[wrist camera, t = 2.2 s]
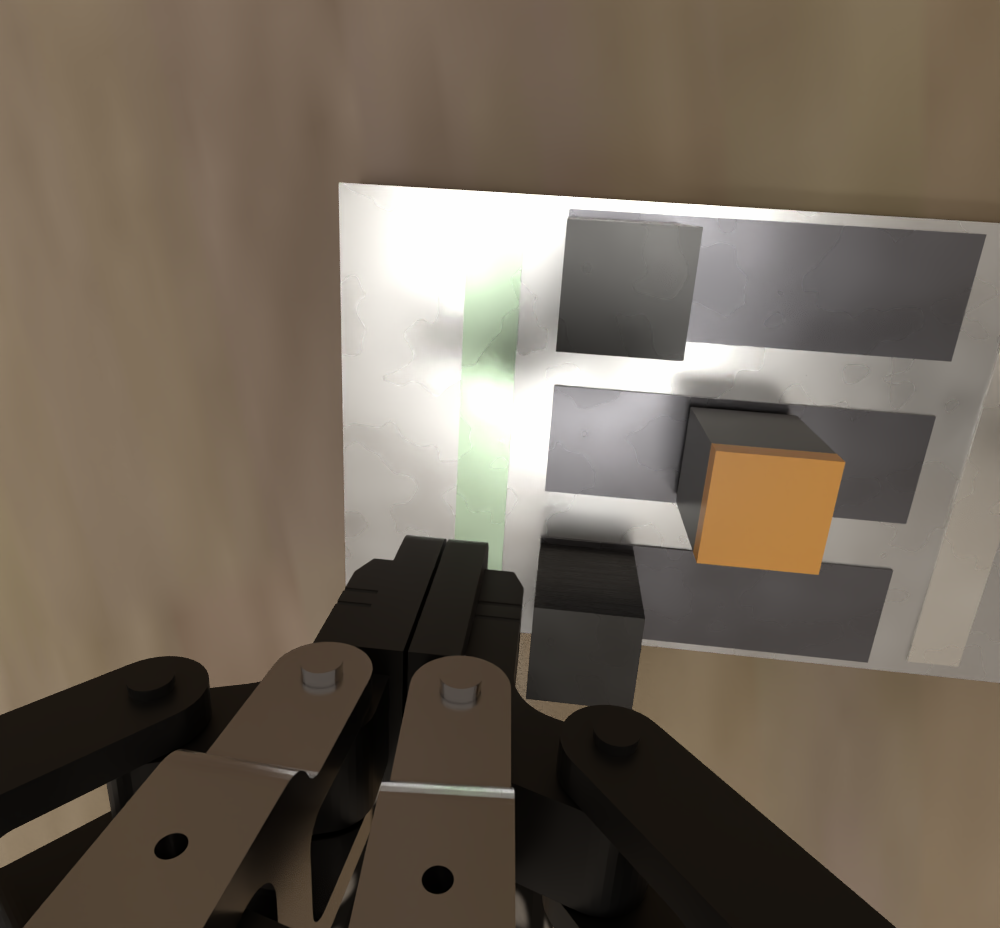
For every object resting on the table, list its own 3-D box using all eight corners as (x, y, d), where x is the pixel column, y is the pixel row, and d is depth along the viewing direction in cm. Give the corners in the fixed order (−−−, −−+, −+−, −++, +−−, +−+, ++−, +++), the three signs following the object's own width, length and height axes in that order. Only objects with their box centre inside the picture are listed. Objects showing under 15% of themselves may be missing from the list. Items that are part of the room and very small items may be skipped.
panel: (1189, 235, 20) (1429, 247, 15) (1033, 654, 25) (1169, 786, 19) (358, 184, 22) (283, 177, 16) (362, 585, 27) (304, 688, 21)
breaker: (796, 415, 21) (845, 461, 17) (776, 511, 22) (818, 575, 18) (690, 406, 21) (715, 450, 17) (675, 502, 22) (696, 563, 18)
